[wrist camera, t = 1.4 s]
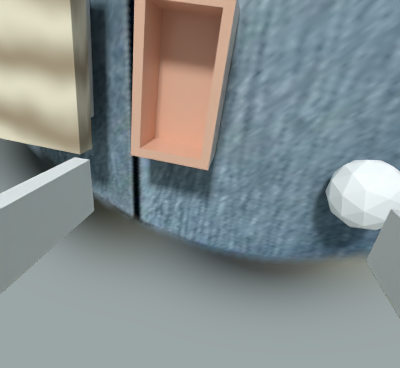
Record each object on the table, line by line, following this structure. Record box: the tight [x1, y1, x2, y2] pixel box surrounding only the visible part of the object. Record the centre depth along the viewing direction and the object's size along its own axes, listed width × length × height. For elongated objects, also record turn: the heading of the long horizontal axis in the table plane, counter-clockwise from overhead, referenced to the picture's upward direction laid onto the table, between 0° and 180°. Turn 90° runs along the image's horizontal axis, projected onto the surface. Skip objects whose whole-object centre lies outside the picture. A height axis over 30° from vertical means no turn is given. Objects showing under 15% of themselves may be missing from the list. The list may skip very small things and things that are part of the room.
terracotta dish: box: [131, 0, 240, 170], centre depth 28 cm, size 16×9×6 cm, turn 172°
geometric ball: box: [325, 160, 400, 230], centre depth 28 cm, size 8×8×8 cm
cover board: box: [0, 0, 92, 154], centre depth 27 cm, size 20×11×2 cm, turn 172°
